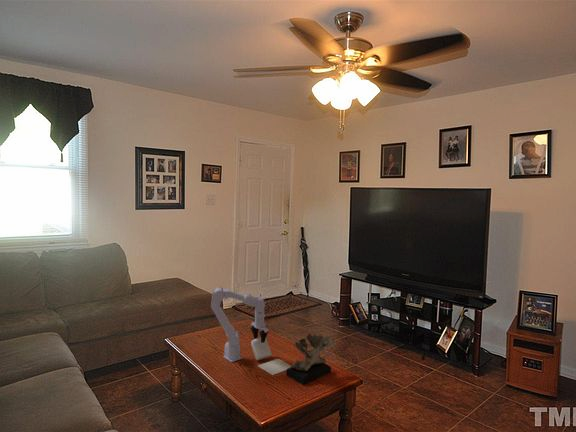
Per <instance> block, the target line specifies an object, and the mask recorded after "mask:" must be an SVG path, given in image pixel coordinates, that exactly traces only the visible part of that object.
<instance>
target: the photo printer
mask: <svg viewBox="0 0 576 432" xmlns="http://www.w3.org/2000/svg"><path fill="white" fill-rule="evenodd" d="M250 345H251V348H252V352H253V355H254V358H255V360H256V361H260V360H264V359H267V358H271V357H272V352H271V349H270V346H269V343H268V339H267V338H266V339H265V342H264V343H261V337H258V338H257V339H254V338H253V340H251V342H250Z"/></svg>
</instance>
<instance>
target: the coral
mask: <svg viewBox="0 0 576 432" xmlns="http://www.w3.org/2000/svg"><path fill="white" fill-rule="evenodd" d="M306 339H307V340H308V342H309V344H310V346H311V347H312V349H308V343H307V341H306ZM334 343H335V340H334V339H333V338H331V337H330V336H328V337H327V338H324V336H323V335H321V334H318V335H315V333H313V334H311V333H309V334H308V335H306V336H305V338H301V339H299V340H298V341H294V346H295V348H296V349H297V351H299V353H302V355H303V356H304V358H305V360H301V361H300V360H295V361H294V362H293V364H292V365H291V366H292V367H290V368H288V369H287V370H286V373H285V374H286V377H289V378H290V379H292V380H294V381H295V382H297V383H299V384H300V385H302V386H304V385H307V384H309V383H311V382H314V381H315V380H318V379H319V378H321V377H324V376H327V375H329V374H331V373H332V366H331V365H329V364H327V363H326V362H327V360H326V358H325V357H324V356H323V357H322V356H320V352H324V351H326V350H327V349H328V347H329V346H332V345H333V344H334Z"/></svg>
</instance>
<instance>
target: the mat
mask: <svg viewBox="0 0 576 432" xmlns="http://www.w3.org/2000/svg"><path fill="white" fill-rule="evenodd" d="M292 366H293V365H291V364H290V363H289V364H288V363H287V362H285V361H283V360H281V359H280V358H275V359H273V360H270V361H269V360H268V361H267V362H265V363H260V364H258V365H257V367H258V368H260V369H261V370H263V371H265V372H266V373H268V374H269V375H271V376H275V375H277V374H280V373H283V372H285V371H286V370H287V369H288V368H290V367H292ZM286 372H287V371H286Z"/></svg>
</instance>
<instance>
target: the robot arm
mask: <svg viewBox="0 0 576 432" xmlns="http://www.w3.org/2000/svg"><path fill="white" fill-rule="evenodd" d="M211 294H212V295H211V300H210V301H211V303H210V308H211V310H212V312H213V313H214V315H215V317H216V319H217V320H218V322H219V324H220V326H221V327H222V328H223V330H224V332H225V335H226V338H227V340H228V341H226V343H225V344H224V355H223V356H222V357H223V358H224V359H225V360H227V361H229V362H231V363H234V362H236V361H239V360H242V359H243V356H240V355H241V354H240V353H241V351H240V349H241V348H240V345H241V342H240V339H239V337H240V334H239V331H238V330H236V329H235V328H234V327H233V326H232V324H231V322H230V321H229V318H228V317H227V315H226V313H225V312H224V310H223V309H222V306H221V303H222V301H223V300H226V299H228V298H230V299H233V300H234V299H235V300H239V301H241V302H242V303H243V305H247V306H250V307H252V308H255V309H254V321H252V322H251V323H250V325H251V327H250V330H251V332H252V335H253V336H252V337H253V340H254V339H257V338H259V336H260V338H261V343H264V342H265V339H266V340H267V336H268V334H269V328H268V327H266V323H265V308H266V303H265V300H264V299H263V298H262V297H259V296H253V295H252V294H250V293H248V294H241V293H238V292H236V291H233V290H231V289H228V288H227V287H226V288H224V287H222V286H216V287H215V288H214V290H213V291H212V293H211ZM259 330H260V331H259Z"/></svg>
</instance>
